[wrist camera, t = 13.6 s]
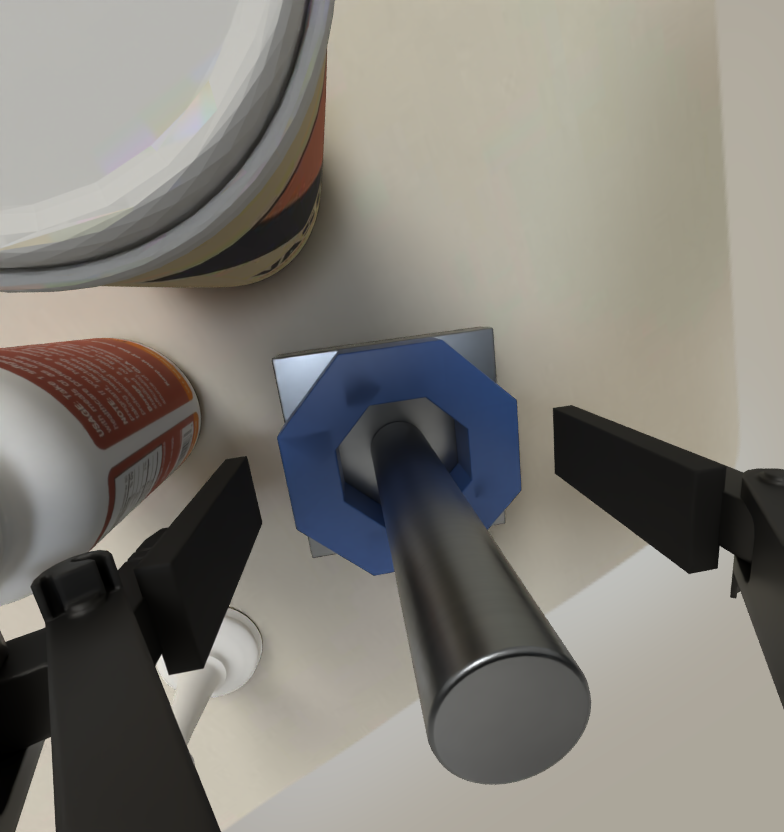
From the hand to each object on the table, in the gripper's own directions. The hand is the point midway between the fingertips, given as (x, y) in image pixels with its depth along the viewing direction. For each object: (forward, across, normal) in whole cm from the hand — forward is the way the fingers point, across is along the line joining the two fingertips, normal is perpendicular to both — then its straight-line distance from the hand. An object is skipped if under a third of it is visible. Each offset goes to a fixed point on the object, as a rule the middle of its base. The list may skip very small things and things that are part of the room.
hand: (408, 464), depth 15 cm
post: (+3, 0, 0) cm, 3 cm away
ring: (+2, 0, 0) cm, 2 cm away
